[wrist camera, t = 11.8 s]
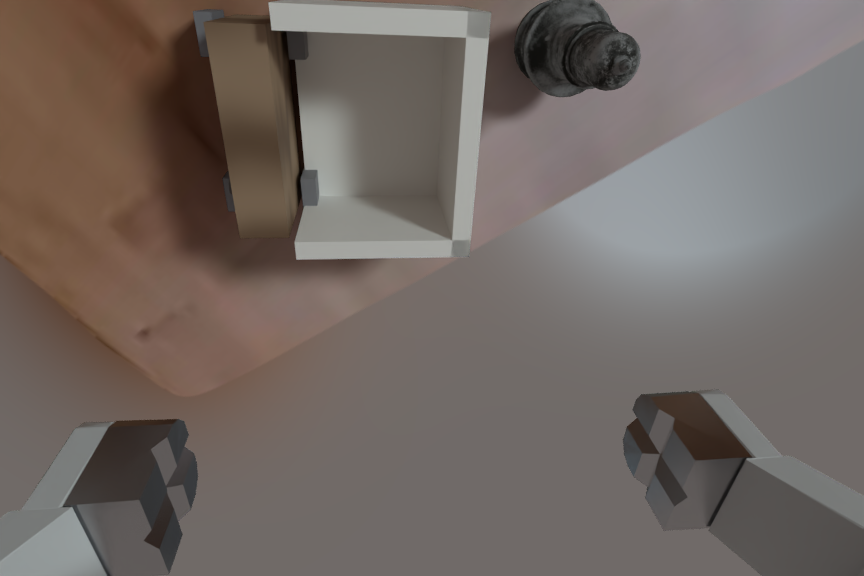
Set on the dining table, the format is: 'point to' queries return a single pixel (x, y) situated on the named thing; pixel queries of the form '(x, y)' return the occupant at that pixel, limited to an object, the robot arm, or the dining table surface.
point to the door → (256, 122)
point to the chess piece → (574, 48)
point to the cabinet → (383, 124)
